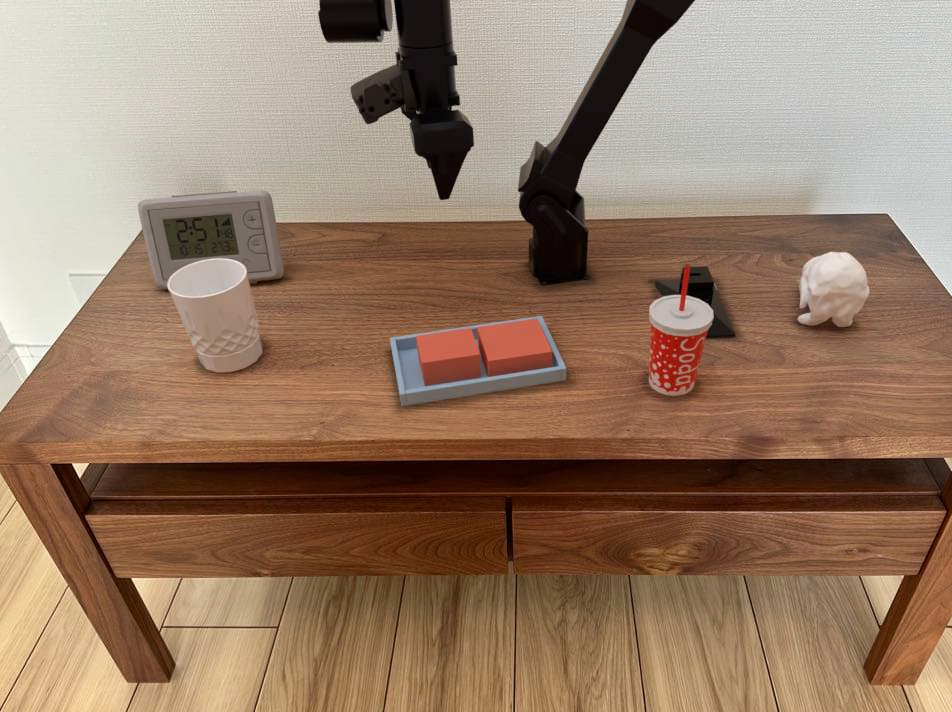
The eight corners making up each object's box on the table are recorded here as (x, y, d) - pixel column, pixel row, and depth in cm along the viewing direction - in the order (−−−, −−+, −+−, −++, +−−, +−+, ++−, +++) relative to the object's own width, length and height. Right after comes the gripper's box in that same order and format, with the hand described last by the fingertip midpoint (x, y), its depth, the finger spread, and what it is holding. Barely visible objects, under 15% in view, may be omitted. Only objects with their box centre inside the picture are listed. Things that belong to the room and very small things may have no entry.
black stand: (654, 282, 94) (658, 249, 91) (713, 281, 94) (718, 247, 91) (672, 339, 85) (677, 303, 82) (738, 337, 85) (745, 301, 82)
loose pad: (472, 350, 83) (471, 327, 81) (481, 377, 79) (480, 354, 77) (418, 358, 82) (415, 335, 80) (424, 386, 78) (421, 362, 77)
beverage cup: (646, 405, 76) (660, 283, 67) (636, 368, 81) (648, 250, 72) (707, 402, 76) (729, 281, 67) (693, 365, 81) (712, 247, 72)
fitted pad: (537, 336, 85) (537, 318, 83) (552, 370, 80) (552, 351, 78) (477, 345, 84) (476, 327, 82) (489, 380, 79) (488, 361, 77)
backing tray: (541, 330, 87) (541, 315, 85) (566, 383, 79) (566, 368, 78) (391, 352, 84) (389, 337, 83) (402, 409, 76) (399, 394, 75)
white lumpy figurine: (817, 265, 79) (797, 223, 89) (800, 337, 84) (783, 289, 94) (880, 268, 78) (853, 225, 88) (860, 340, 83) (836, 292, 93)
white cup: (248, 380, 81) (223, 300, 74) (181, 373, 82) (151, 293, 76) (280, 338, 87) (259, 261, 80) (217, 332, 88) (192, 255, 82)
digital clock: (150, 293, 95) (120, 215, 88) (179, 258, 102) (153, 182, 95) (276, 295, 94) (256, 215, 87) (296, 259, 101) (279, 183, 94)
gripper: (343, 26, 85) (364, 160, 95) (354, 74, 71) (377, 226, 81) (441, 18, 87) (451, 151, 97) (470, 63, 73) (478, 213, 83)
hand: (438, 183), depth 90 cm, fingers open, 9 cm apart
